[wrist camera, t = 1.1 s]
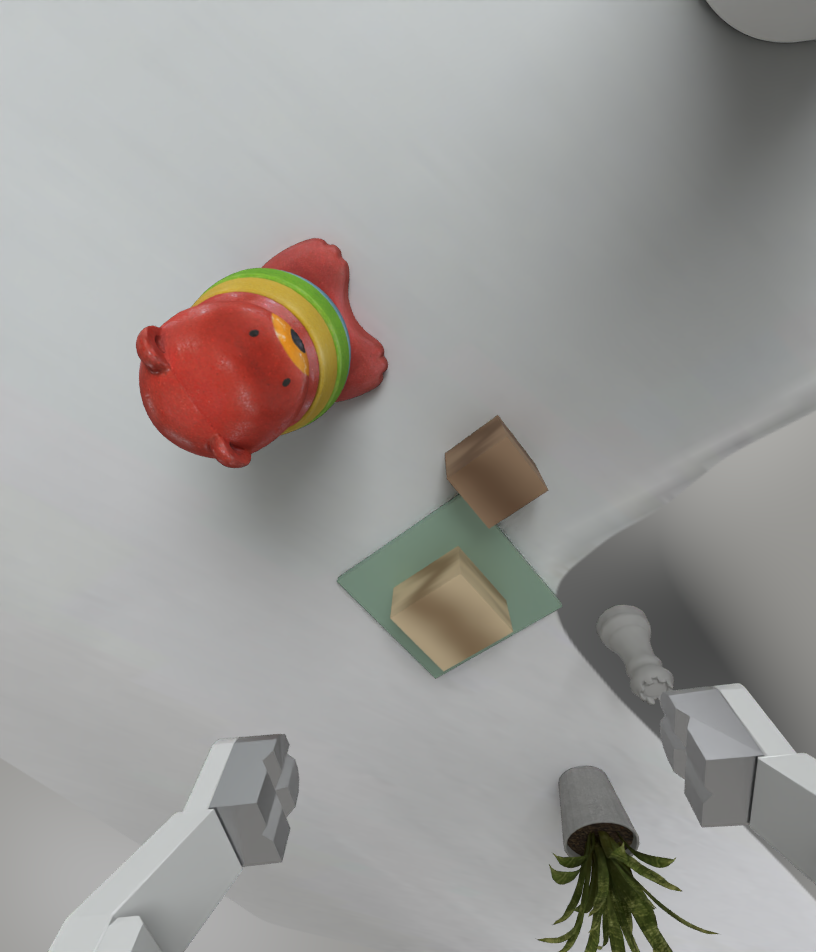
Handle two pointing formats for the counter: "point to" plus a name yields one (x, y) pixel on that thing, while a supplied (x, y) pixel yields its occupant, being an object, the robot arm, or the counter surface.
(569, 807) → the house plant
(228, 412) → the stacking bear
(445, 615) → the oak base block
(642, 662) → the rook chess piece
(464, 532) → the build pad
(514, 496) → the walnut cube
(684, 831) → the counter surface
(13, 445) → the counter surface
